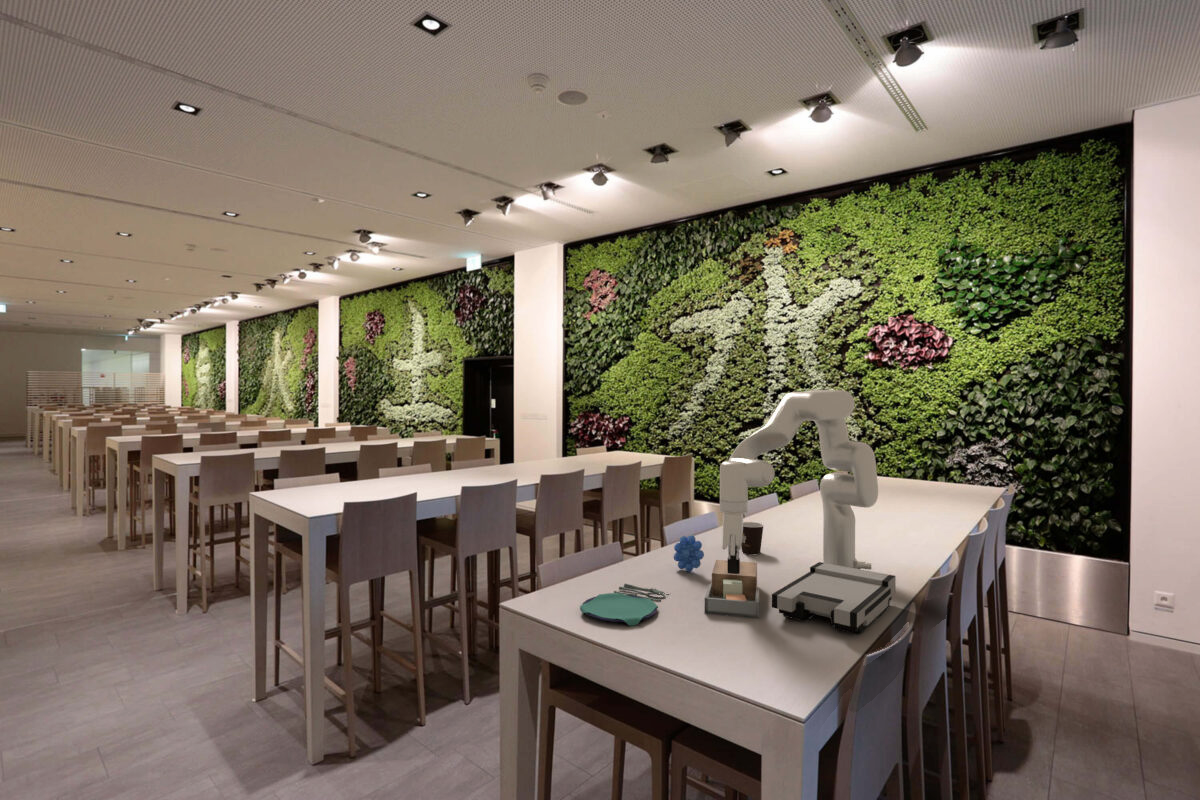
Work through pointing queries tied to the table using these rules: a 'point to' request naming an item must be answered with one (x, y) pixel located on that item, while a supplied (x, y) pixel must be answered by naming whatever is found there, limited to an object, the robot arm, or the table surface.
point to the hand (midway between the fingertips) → (733, 572)
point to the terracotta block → (735, 597)
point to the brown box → (735, 578)
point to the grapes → (688, 553)
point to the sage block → (732, 587)
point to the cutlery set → (622, 605)
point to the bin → (731, 605)
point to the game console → (837, 596)
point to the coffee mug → (752, 537)
